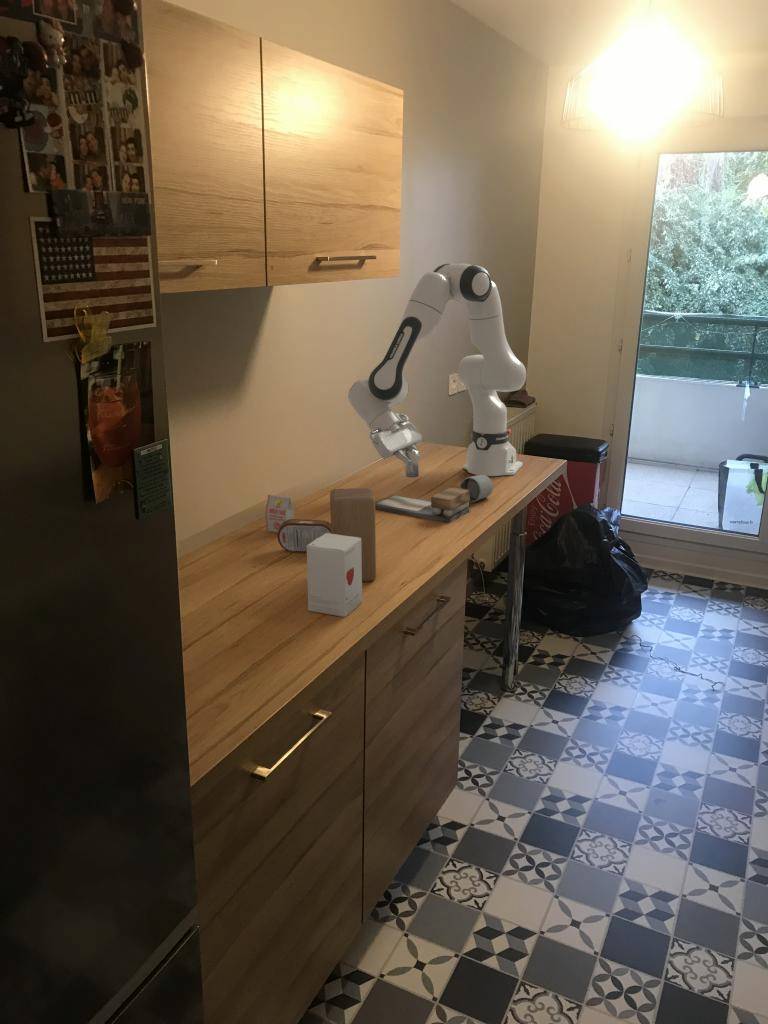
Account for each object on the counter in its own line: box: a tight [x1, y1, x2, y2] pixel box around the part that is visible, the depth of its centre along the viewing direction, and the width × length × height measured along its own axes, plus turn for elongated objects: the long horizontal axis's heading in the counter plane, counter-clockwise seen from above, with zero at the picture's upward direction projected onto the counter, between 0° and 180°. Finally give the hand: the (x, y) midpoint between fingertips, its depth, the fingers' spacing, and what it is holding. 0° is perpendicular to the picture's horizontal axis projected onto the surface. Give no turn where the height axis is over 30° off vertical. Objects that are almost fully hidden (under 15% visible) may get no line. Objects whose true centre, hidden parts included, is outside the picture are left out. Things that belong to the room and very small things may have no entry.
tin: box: [276, 518, 331, 554], centre depth 211 cm, size 15×3×8 cm, turn 84°
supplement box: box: [306, 533, 363, 618], centre depth 177 cm, size 9×9×15 cm
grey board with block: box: [375, 486, 470, 523], centre depth 244 cm, size 12×26×7 cm, turn 58°
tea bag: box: [265, 494, 295, 534], centre depth 226 cm, size 4×7×10 cm, turn 62°
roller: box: [404, 448, 420, 479], centre depth 254 cm, size 4×4×8 cm
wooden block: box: [329, 487, 377, 582], centre depth 194 cm, size 10×10×20 cm
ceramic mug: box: [459, 475, 494, 503], centre depth 254 cm, size 11×8×8 cm
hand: (413, 461), depth 254 cm, fingers closed on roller, 4 cm apart
